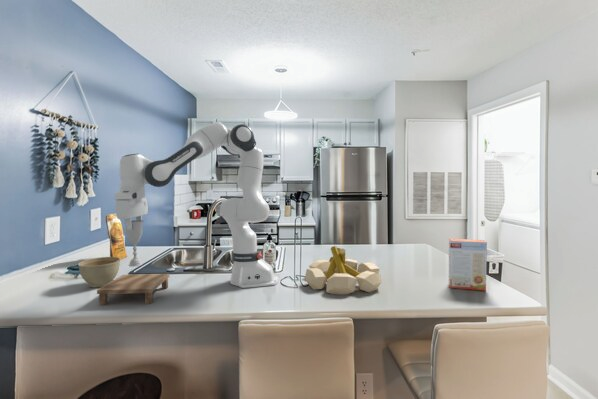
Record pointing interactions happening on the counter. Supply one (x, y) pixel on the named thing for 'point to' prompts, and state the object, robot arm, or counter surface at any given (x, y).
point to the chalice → (135, 239)
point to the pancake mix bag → (115, 236)
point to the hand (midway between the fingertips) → (134, 228)
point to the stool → (134, 286)
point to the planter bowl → (99, 270)
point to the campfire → (342, 274)
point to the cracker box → (467, 264)
